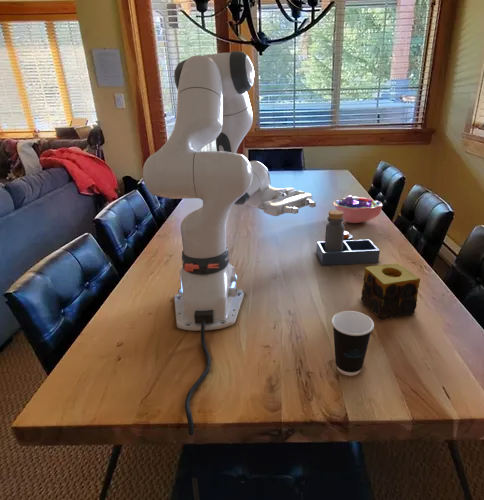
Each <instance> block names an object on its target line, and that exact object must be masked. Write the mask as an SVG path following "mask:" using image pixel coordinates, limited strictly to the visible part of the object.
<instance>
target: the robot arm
mask: <svg viewBox="0 0 484 500" xmlns="http://www.w3.org/2000/svg"><path fill="white" fill-rule="evenodd" d="M254 78H255V70H254V66H253V63H252V61H251V58H250V56H249V55H248V54H247V53H245V52H244V51H240V50H232V51H230V52H219V53H218V52H217V53H212V54H211V53H208V54H203V55H201V54H198V55H192V56H189V57H188V58H187V59H183V60H182V61H180V62H179V63H177V65H176V67H175V68H174V73H173V79H174V85H175V87H176V90H177V96H176V97H177V99H176V114H175V121H174V126H173V130H172V131H171V133H170V136H169V137H168V139H167V141H166V142H165V143H164V144H163V145H162V146H161V148H159V149H158V150H157V151H155V152H154V153H153V154H151V155H150V156H148V158H146V161H144V164H143V167H142V181H143V184H144V186H145V187H146V189H147V191H148V192H149V193H150V194H151V195H152V196H155V197H160V198H165V199H171V200H175V199H177V200H179V199H181V200H186V199H190V200H191V199H199V200H201V201H202V206H201V207H199V208H198V209H195V210H194V211H192V212H190V213H188V214H187V215H186V216H185V217H184V218H183V219H182V220H181V224H180V235H181V244H182V245H181V246H182V251H181V263H182V267H181V268H180V269H179V270H178V272H179V281H180V288H178V290H177V291H178V292H177V293H175V294H174V296H173V300H174V311H175V312H174V313H175V321H176V322H175V323H176V328H178V329H180V330H184V331H193V332H195V331H196V332H197V331H198V332H200V343H201V349H202V351H203V354H204V356H205V359H206V364H205V368H204V370H203V372H202V374H201V375H200V376H199V378H198V379H197V380H196V381H195V382H194V384H193V385H192V386H191V387H190V389H189V390H188V392H187V393H186V397H185V400H184V411H185V415H186V420H187V428H188V436H190V437H191V436H193V435H194V434H195V429H194V428H195V427H194V419H193V415H192V410H191V401H192V398H193V395H194V394H195V392H196V390H197V389H198V387H199V386H200V385H201V384H202V382H203V381H205V379H206V377H207V376H208V374H209V372H210V370H211V365H212V358H211V355H210V353H209V350H208V347H207V344H206V339H205V338H206V331H213V330H220V329H224V328H227V327H231V326H233V325H235V323H236V321H237V318H238V315H239V312H240V309H241V306H242V303H243V300H244V297H245V292H244V290H242V289H239V288H238V287H237V280H238V275H237V274H236V267H235V266H234V265H232V264H231V262H230V252H229V248H228V246H227V220H228V216H229V214H230V211H231V209H232V208H233V206H234V205H237V206H242V205H247V206H250V207H252V208H255V209H258V210H262V212H263V213H265V214H267V215H268V216H269V215H270V216H273V217H278V216H281V215H284V214H294V215H296V214H298V213H299V209H302V208H305V207H309V208H315V207H317V202H316V201H313V195H312V194H311V193H309V192H307V191H302V190H297V189H296V190H295V188H294V187H284V188H280V187H274V186H271V176H270V171H269V169H268V167H267V166H266V165H264V164H263V163H262V162H260V161H258V160H250V161H249V160H248V158H247V157H246V156H245V155H244V154H242V153H237V151H238V148H239V147H240V145H241V143H242V141H243V140H244V138H245V137H246V136H247V134H248V133H249V132H250V130H251V128H252V126H253V122H254V116H253V110H252V106H251V102H250V101H251V100H250V97H249V94H248V92H249V91H250V90H251V88H252V87H253V85H254ZM214 141H215V147H216V151H215V150H213V151H211V150H210V151H208V150H207V151H202V149H203V148H204V147H205V146H207V145H208V144H211V143H213V142H214ZM191 483H192V491H193V499H194V500H200V492H199V484H198V477H191Z"/></svg>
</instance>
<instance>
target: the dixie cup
mask: <svg viewBox="0 0 484 500" xmlns="http://www.w3.org/2000/svg"><path fill="white" fill-rule="evenodd" d="M331 325H332V327H333V328H332V329H333V345H334V346H333V347H334V362H335V365H336V369H337V370H338V373H341V374H342V375H345V376H349V377H351V376H356V375H358V374H359V373H361V370H362V369H363V366H364V362H365V359H366V355H367V354H366V353H367V351H368V346H369V342H370V338H371V334H372V331H373V330H374V327H375V323H374V321H373V319H372V318H371V317H370V316H369V315H367V314H365V313H362V312H361V311H356V310H344V311H339V312H337V313H335V314H334V315H333V316H332V317H331Z"/></svg>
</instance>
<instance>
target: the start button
mask: <svg viewBox="0 0 484 500" xmlns="http://www.w3.org/2000/svg"><path fill="white" fill-rule="evenodd" d="M349 234H350V232H349V231H346V230H344V238H348V237H349Z"/></svg>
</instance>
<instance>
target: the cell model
mask: <svg viewBox="0 0 484 500" xmlns="http://www.w3.org/2000/svg"><path fill="white" fill-rule="evenodd" d="M332 204H333V205H334V207H335V210H339V211H342V212H343V218H344V221H343V222H347V223H350V224H360V223H361V224H362V223H364V222H371V221H372V220H374V219H376V218H378V216H380V214H381V212H382V208H383V202H382V201H380V200H375V199H371V198H368V197H359V196H352V195H348V196H346V197H345V198H339V199H336V200H334V201H333V202H332Z"/></svg>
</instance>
